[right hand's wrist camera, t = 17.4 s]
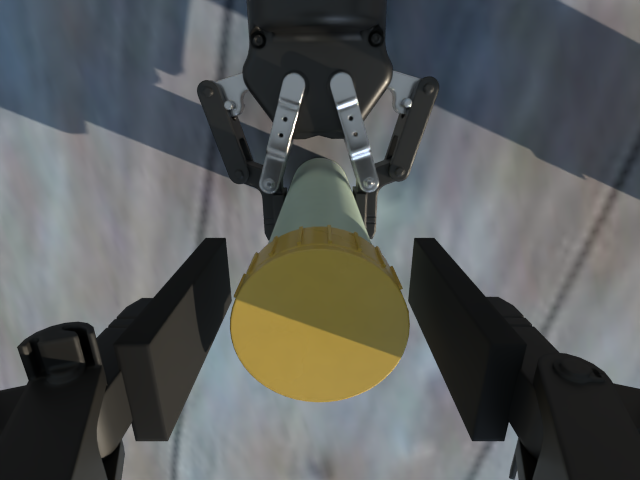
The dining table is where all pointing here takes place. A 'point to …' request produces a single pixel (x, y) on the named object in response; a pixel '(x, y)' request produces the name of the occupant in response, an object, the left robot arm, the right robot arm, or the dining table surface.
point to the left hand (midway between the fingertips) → (319, 243)
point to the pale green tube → (319, 200)
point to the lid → (319, 315)
